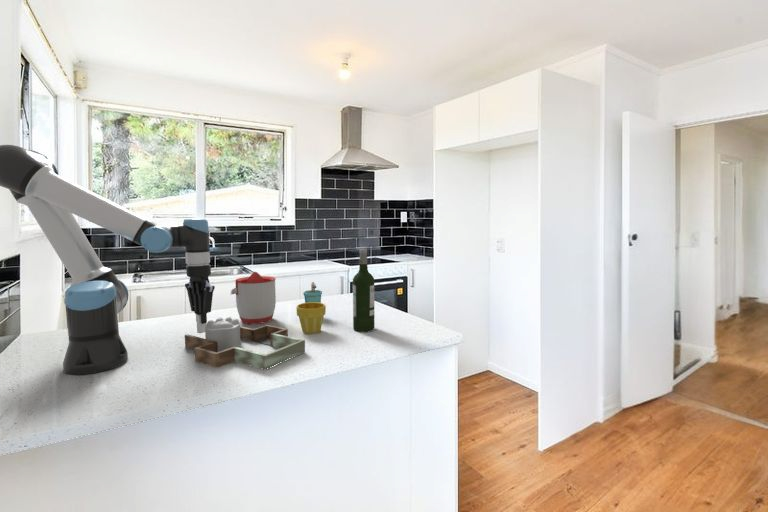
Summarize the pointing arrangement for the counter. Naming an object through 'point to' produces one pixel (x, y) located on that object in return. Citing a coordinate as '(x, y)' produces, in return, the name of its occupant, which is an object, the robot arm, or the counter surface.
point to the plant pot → (311, 316)
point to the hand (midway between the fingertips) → (202, 332)
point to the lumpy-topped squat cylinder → (224, 333)
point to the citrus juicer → (255, 298)
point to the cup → (312, 294)
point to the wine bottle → (363, 297)
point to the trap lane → (264, 335)
